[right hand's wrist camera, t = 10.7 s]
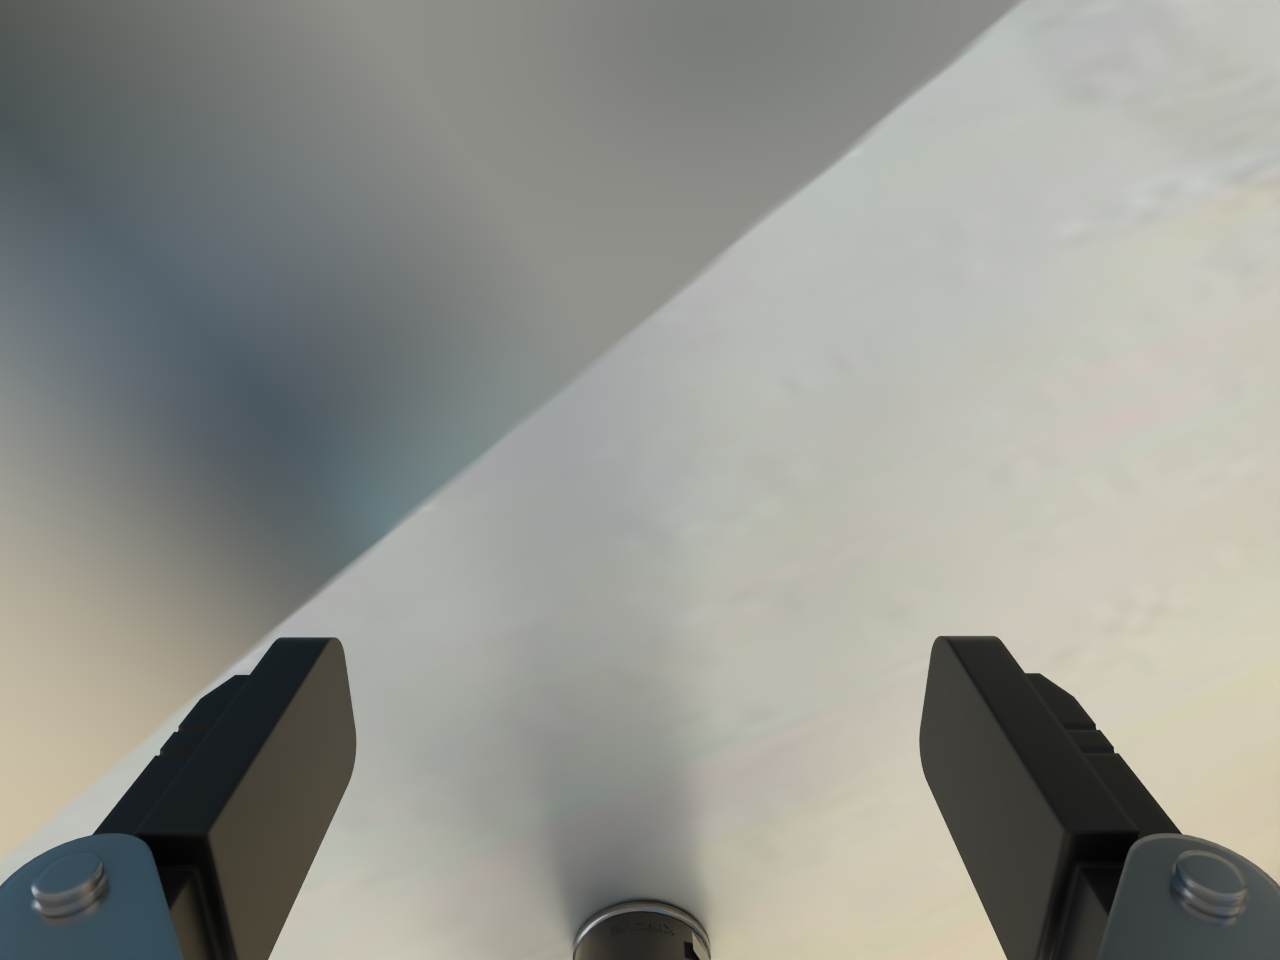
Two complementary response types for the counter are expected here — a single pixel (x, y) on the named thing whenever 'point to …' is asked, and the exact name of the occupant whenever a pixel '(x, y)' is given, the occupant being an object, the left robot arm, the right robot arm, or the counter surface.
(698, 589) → the counter surface
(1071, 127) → the counter surface
